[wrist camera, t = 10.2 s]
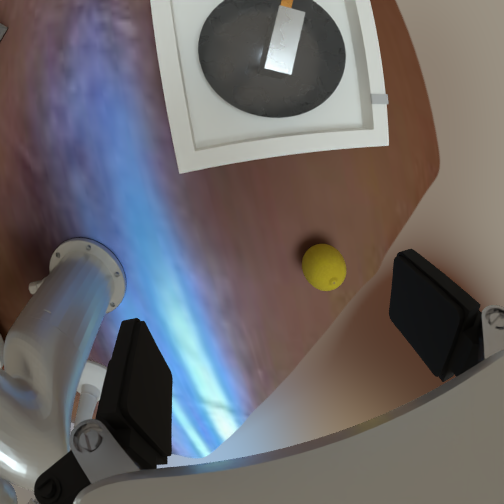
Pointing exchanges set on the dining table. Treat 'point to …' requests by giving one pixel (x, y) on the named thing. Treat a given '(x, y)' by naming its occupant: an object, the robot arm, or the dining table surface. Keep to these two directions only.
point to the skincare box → (2, 30)
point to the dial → (272, 55)
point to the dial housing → (257, 127)
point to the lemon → (324, 267)
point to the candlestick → (89, 390)
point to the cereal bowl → (1, 351)
